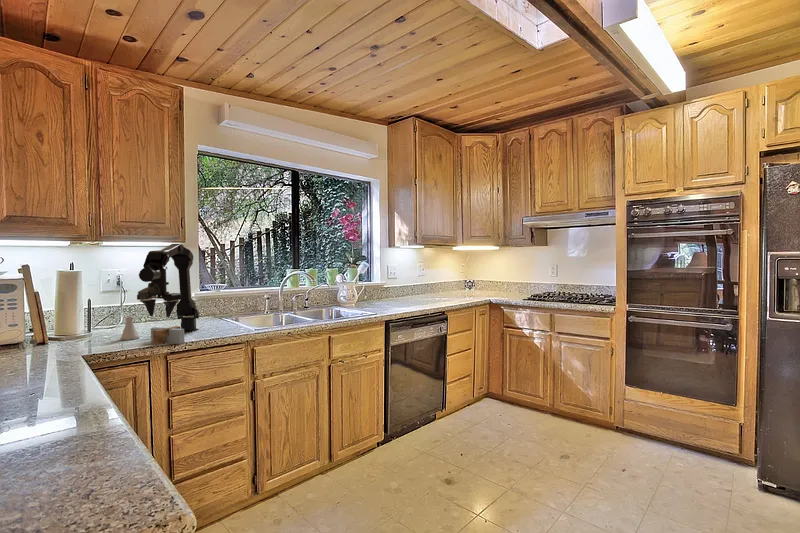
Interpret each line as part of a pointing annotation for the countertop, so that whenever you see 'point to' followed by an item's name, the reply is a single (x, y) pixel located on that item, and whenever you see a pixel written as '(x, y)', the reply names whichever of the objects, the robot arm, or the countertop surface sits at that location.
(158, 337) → the walnut board
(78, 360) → the countertop surface
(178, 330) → the slotted stand
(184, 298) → the robot arm
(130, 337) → the flask
